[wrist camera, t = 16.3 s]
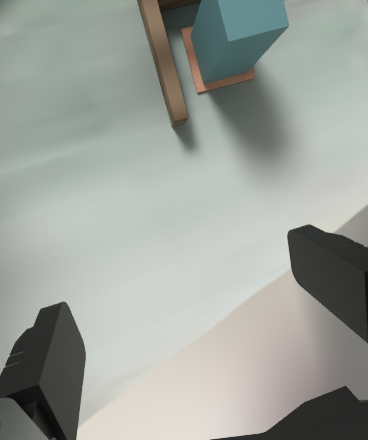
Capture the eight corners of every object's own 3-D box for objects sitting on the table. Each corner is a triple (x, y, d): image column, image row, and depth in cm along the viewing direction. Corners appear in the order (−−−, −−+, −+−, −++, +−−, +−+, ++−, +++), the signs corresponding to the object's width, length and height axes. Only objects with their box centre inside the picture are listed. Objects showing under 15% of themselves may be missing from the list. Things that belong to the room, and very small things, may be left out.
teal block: (203, 84, 34) (228, 41, 24) (190, 36, 33) (210, -29, 23) (246, 72, 34) (289, 25, 24) (234, 24, 33) (273, -44, 24)
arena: (282, 97, 35) (295, 88, 32) (172, 126, 34) (174, 120, 31) (255, -26, 33) (266, -46, 30) (137, 1, 32) (136, -18, 29)
